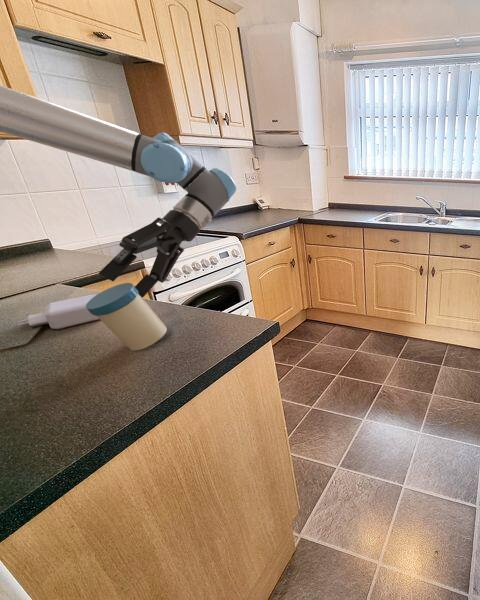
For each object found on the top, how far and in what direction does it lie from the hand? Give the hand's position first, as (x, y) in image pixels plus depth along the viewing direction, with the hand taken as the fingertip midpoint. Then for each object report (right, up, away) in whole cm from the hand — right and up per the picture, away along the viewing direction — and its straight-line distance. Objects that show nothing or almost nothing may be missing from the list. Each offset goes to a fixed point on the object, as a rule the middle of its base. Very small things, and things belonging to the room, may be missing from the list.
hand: (120, 289), depth 73 cm
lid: (+2, -2, -5) cm, 5 cm away
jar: (+5, -11, +2) cm, 12 cm away
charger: (-23, -8, +12) cm, 27 cm away
